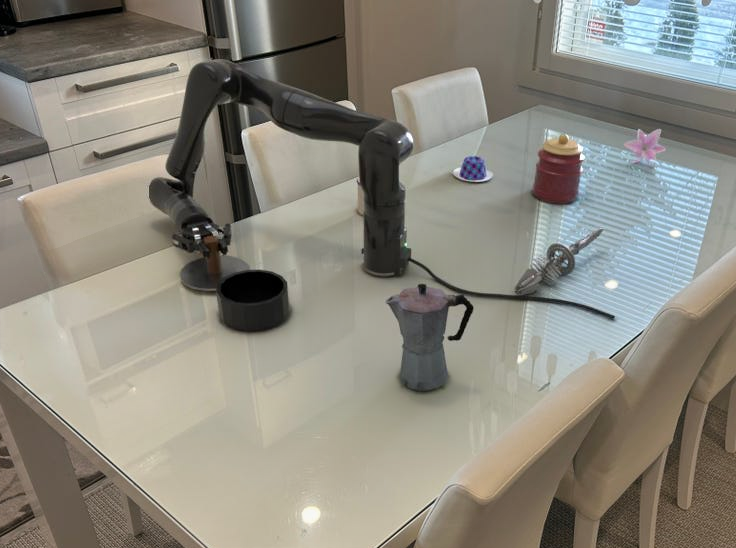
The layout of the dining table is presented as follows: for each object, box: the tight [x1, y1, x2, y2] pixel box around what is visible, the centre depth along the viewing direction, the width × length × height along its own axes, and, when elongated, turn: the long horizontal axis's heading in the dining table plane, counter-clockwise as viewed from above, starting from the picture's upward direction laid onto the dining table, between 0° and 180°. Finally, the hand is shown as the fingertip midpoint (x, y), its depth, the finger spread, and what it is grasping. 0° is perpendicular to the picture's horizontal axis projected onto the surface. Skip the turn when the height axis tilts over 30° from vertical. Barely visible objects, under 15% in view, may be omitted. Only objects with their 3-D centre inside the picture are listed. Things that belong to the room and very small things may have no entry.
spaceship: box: [512, 227, 604, 296], centre depth 170 cm, size 8×35×8 cm
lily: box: [623, 128, 667, 168], centre depth 234 cm, size 12×12×10 cm
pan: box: [215, 269, 290, 333], centre depth 150 cm, size 14×14×6 cm
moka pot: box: [384, 283, 474, 392], centre depth 131 cm, size 10×15×20 cm, turn 95°
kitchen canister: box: [532, 133, 585, 205], centre depth 204 cm, size 13×13×18 cm
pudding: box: [452, 155, 494, 183], centre depth 216 cm, size 12×12×5 cm
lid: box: [179, 236, 251, 292], centre depth 159 cm, size 15×15×9 cm
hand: (216, 252), depth 156 cm, fingers closed on lid, 3 cm apart
